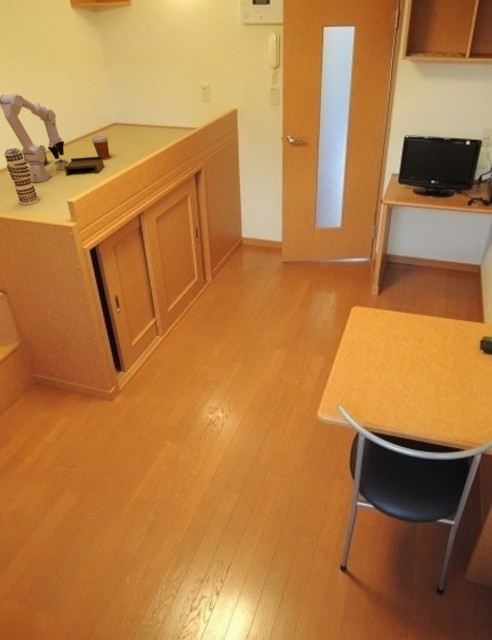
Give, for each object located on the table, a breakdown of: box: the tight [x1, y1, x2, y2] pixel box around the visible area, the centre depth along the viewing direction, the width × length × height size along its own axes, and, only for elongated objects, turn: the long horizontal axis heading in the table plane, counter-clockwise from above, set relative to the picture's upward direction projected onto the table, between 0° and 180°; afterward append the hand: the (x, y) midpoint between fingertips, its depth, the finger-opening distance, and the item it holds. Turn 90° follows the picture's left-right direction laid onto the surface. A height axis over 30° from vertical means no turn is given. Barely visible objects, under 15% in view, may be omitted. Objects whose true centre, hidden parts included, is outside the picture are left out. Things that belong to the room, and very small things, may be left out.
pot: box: [53, 158, 69, 171], centre depth 282 cm, size 5×8×5 cm
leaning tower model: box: [3, 147, 39, 206], centre depth 232 cm, size 9×9×25 cm
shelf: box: [64, 156, 105, 176], centre depth 275 cm, size 13×18×6 cm
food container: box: [38, 144, 49, 167], centre depth 292 cm, size 12×6×10 cm, turn 168°
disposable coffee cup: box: [91, 135, 110, 160], centre depth 293 cm, size 10×10×12 cm
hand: (59, 156), depth 280 cm, fingers open, 7 cm apart
